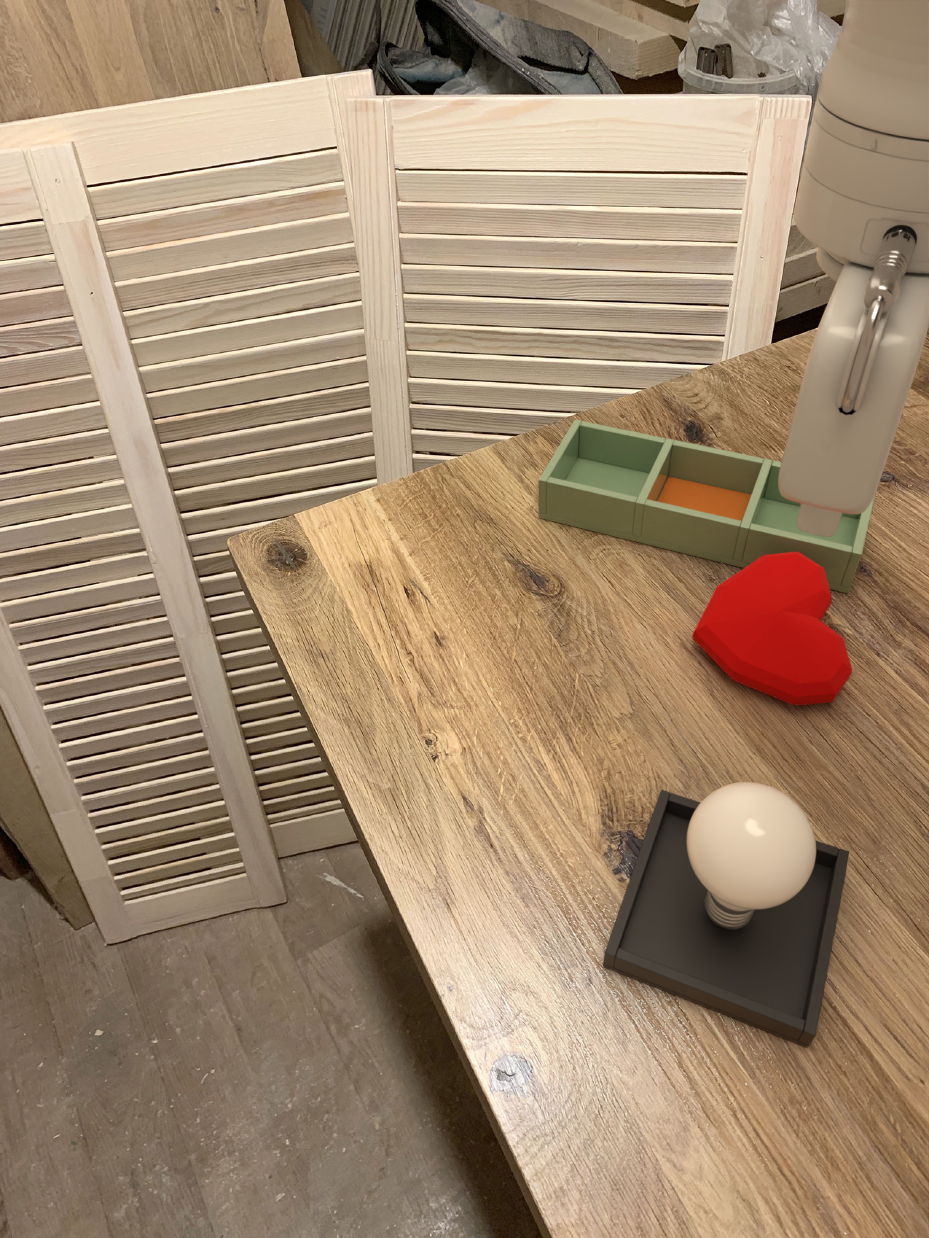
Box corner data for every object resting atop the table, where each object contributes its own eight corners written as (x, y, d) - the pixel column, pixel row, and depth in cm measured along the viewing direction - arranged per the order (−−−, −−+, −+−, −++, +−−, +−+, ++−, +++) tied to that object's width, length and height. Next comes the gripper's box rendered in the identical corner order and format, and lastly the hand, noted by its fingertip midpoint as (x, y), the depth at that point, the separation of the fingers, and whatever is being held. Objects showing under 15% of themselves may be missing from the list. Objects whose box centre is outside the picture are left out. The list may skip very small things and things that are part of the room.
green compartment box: (864, 521, 75) (878, 481, 72) (848, 594, 70) (862, 554, 67) (573, 457, 83) (574, 419, 80) (538, 518, 78) (538, 479, 75)
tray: (841, 866, 55) (849, 850, 54) (807, 1048, 48) (815, 1035, 47) (658, 805, 59) (661, 788, 57) (602, 966, 52) (604, 952, 51)
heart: (703, 723, 65) (852, 711, 63) (706, 694, 61) (864, 681, 60) (679, 584, 71) (814, 570, 70) (681, 551, 68) (822, 535, 66)
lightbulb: (713, 841, 56) (743, 736, 48) (806, 910, 53) (854, 810, 45) (648, 913, 54) (668, 814, 45) (742, 990, 50) (781, 898, 42)
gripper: (982, 324, 29) (867, 627, 39) (1026, 99, 41) (930, 373, 51) (775, 291, 31) (717, 586, 41) (876, 87, 43) (812, 352, 53)
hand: (836, 466), depth 46 cm, fingers open, 8 cm apart
